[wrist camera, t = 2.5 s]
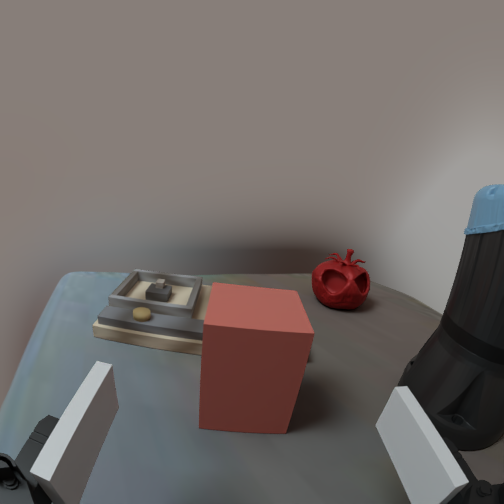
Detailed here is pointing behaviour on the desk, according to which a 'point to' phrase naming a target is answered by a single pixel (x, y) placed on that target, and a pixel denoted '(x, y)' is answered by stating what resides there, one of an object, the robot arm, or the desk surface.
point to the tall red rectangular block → (252, 358)
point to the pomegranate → (341, 282)
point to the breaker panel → (156, 312)
